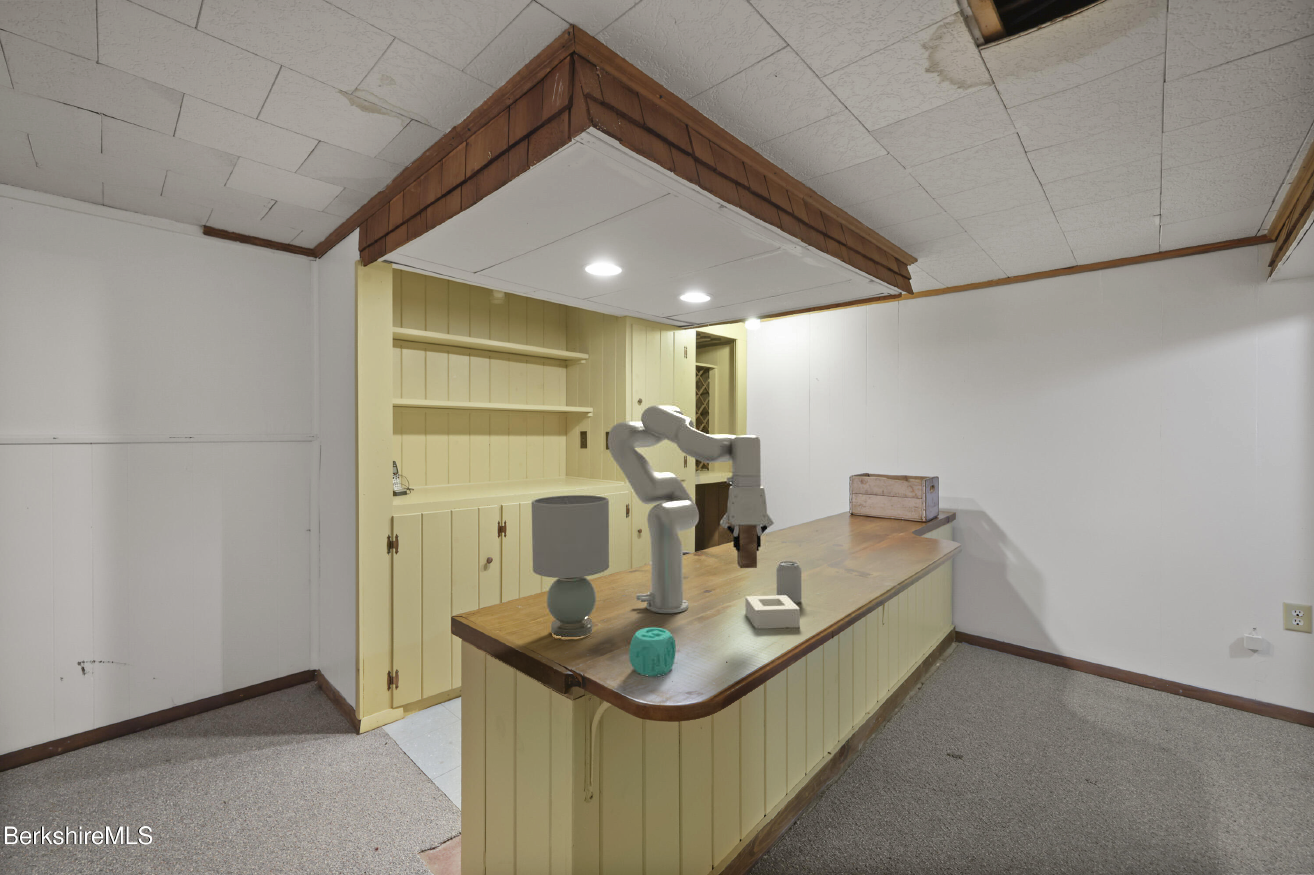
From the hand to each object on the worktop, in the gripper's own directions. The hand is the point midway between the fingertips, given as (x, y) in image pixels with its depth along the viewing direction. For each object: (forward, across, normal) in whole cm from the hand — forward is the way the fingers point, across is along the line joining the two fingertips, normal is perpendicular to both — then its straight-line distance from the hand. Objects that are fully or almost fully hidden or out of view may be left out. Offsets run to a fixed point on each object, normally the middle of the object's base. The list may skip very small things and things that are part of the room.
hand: (747, 549), depth 147 cm
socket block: (+21, +8, +6) cm, 24 cm away
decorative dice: (+22, -26, -23) cm, 41 cm away
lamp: (+21, -47, 0) cm, 51 cm away
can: (+22, +17, +23) cm, 36 cm away
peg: (+4, 0, 0) cm, 4 cm away
